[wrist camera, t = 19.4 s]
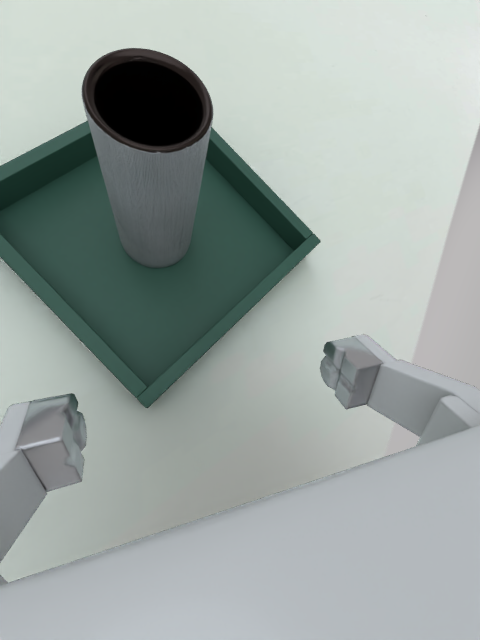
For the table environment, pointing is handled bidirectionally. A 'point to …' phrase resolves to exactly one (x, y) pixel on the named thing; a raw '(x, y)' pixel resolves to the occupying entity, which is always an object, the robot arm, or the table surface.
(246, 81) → the table surface
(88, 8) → the table surface
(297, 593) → the robot arm
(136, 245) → the planter
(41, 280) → the tray
